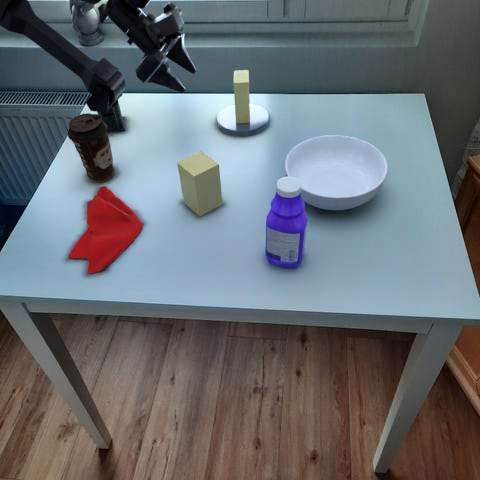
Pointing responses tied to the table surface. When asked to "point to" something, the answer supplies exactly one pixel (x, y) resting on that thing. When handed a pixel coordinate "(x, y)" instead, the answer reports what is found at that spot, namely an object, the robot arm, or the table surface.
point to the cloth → (106, 230)
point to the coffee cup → (92, 146)
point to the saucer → (256, 125)
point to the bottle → (286, 225)
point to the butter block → (200, 183)
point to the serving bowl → (337, 171)
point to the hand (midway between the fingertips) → (189, 81)
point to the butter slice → (242, 96)
